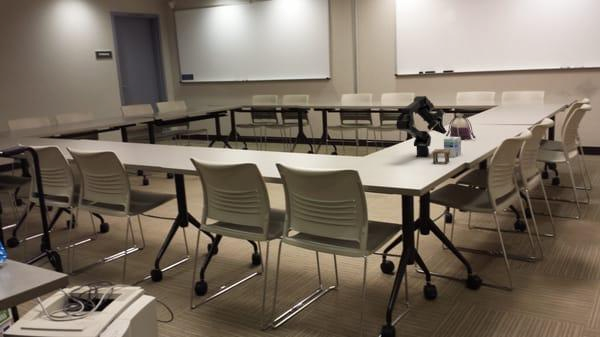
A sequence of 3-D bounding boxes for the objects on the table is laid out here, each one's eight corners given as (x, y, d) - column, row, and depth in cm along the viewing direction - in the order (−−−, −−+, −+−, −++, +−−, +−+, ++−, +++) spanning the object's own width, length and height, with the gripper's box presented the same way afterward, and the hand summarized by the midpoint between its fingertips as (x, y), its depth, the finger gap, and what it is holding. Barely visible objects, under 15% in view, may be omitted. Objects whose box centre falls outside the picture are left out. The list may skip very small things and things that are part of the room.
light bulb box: (454, 157, 306) (454, 139, 304) (443, 157, 310) (443, 139, 308) (461, 154, 314) (461, 136, 312) (450, 154, 318) (450, 136, 316)
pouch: (441, 139, 378) (441, 113, 374) (447, 137, 383) (447, 111, 380) (474, 141, 360) (473, 113, 356) (479, 139, 366) (479, 112, 362)
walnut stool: (432, 163, 292) (432, 151, 291) (435, 161, 299) (435, 149, 298) (447, 164, 288) (447, 151, 287) (449, 161, 296) (449, 149, 294)
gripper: (432, 106, 302) (452, 125, 300) (438, 103, 319) (457, 121, 316) (419, 120, 307) (438, 139, 305) (426, 116, 324) (444, 134, 321)
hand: (445, 132), depth 311 cm, fingers open, 4 cm apart
